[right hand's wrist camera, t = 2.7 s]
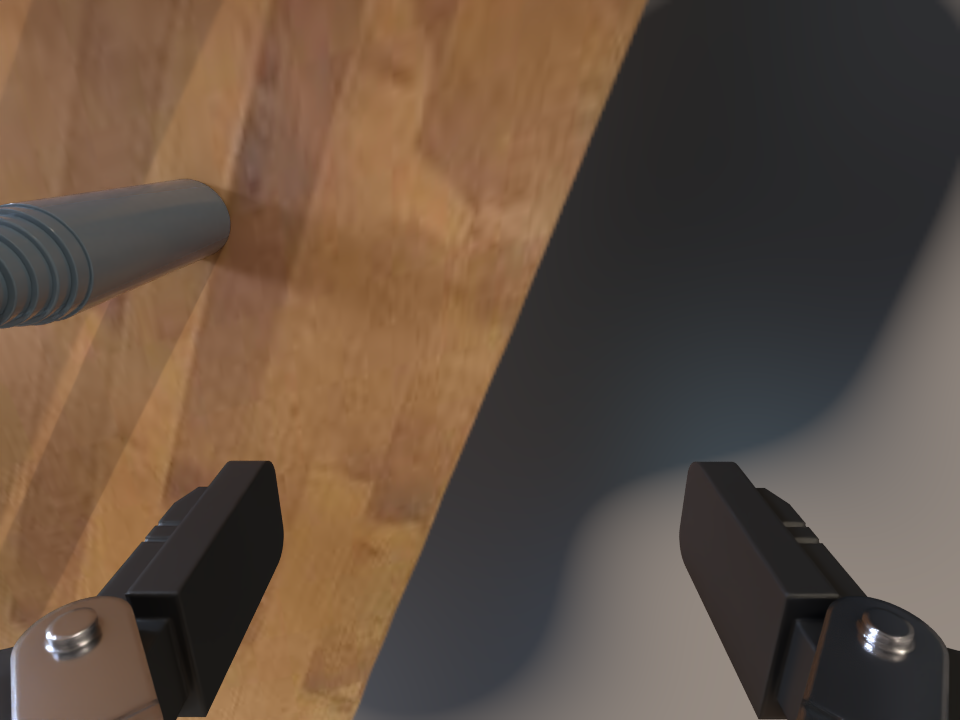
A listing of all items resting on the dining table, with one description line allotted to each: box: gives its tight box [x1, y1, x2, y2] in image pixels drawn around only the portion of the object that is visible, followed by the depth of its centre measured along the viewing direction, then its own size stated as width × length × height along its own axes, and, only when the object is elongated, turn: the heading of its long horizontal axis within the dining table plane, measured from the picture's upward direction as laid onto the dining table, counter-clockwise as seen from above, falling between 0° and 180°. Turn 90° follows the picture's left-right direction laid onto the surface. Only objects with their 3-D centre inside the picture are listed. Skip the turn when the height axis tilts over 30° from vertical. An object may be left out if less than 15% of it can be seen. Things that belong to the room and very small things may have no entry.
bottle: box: [0, 179, 230, 329], centre depth 28 cm, size 5×5×21 cm
